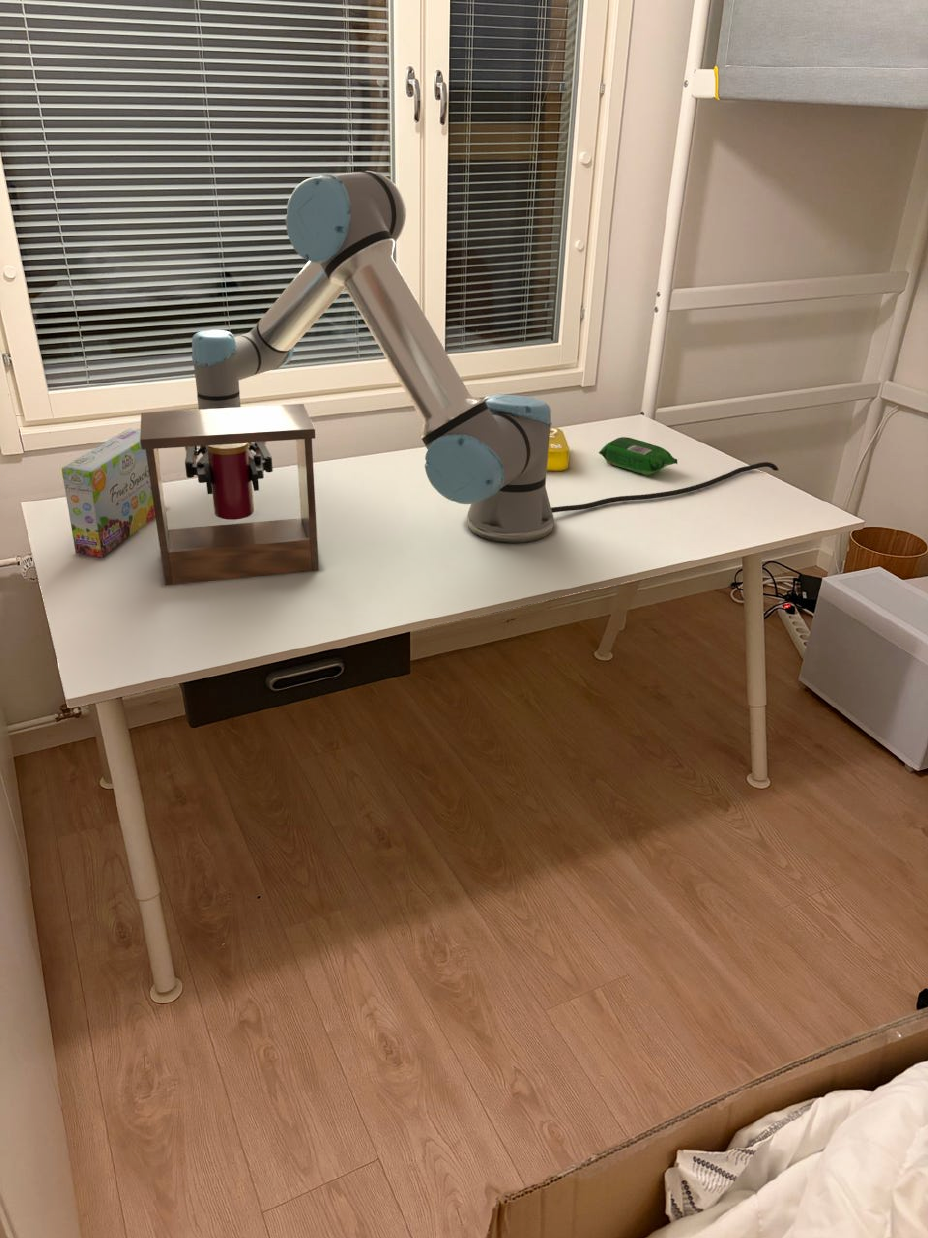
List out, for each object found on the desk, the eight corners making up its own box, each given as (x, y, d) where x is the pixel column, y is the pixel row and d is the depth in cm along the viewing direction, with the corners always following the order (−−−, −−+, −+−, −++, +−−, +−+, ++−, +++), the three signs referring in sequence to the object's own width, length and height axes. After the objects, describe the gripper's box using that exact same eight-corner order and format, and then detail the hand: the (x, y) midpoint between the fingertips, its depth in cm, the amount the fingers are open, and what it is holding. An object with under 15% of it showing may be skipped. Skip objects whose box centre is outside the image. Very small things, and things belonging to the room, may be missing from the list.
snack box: (106, 559, 151) (90, 471, 144) (74, 555, 152) (57, 467, 145) (167, 509, 170) (156, 428, 162) (139, 505, 170) (126, 425, 163)
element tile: (492, 445, 204) (492, 424, 202) (560, 446, 205) (562, 425, 202) (496, 470, 191) (497, 447, 189) (569, 471, 192) (571, 449, 189)
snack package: (658, 483, 188) (661, 458, 185) (595, 462, 197) (598, 438, 194) (677, 474, 192) (681, 450, 190) (615, 454, 202) (618, 431, 199)
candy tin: (253, 502, 157) (247, 433, 151) (257, 518, 152) (250, 447, 146) (212, 505, 156) (204, 435, 150) (214, 521, 150) (206, 449, 144)
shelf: (311, 538, 161) (303, 403, 149) (322, 570, 150) (315, 428, 139) (161, 551, 154) (141, 412, 143) (162, 586, 144) (140, 439, 132)
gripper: (281, 452, 169) (296, 501, 150) (169, 460, 165) (171, 511, 145) (278, 412, 166) (293, 457, 147) (164, 418, 161) (164, 465, 142)
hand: (232, 484), depth 146 cm, fingers closed on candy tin, 6 cm apart
